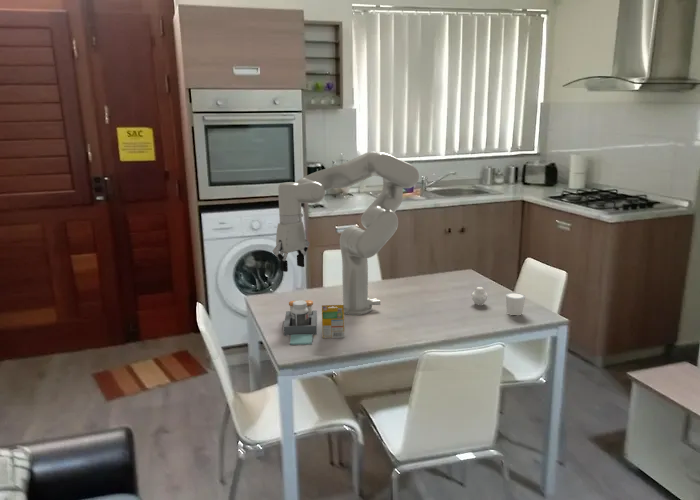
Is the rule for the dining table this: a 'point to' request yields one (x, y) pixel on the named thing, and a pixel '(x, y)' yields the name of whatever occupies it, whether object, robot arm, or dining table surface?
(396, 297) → the dining table surface
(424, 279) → the dining table surface
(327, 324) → the crayon box
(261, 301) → the dining table surface
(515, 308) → the shot glass
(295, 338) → the pad
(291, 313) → the plunger
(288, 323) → the housing
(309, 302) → the plunger
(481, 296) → the white rounded lump
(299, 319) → the pill bottle
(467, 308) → the dining table surface
